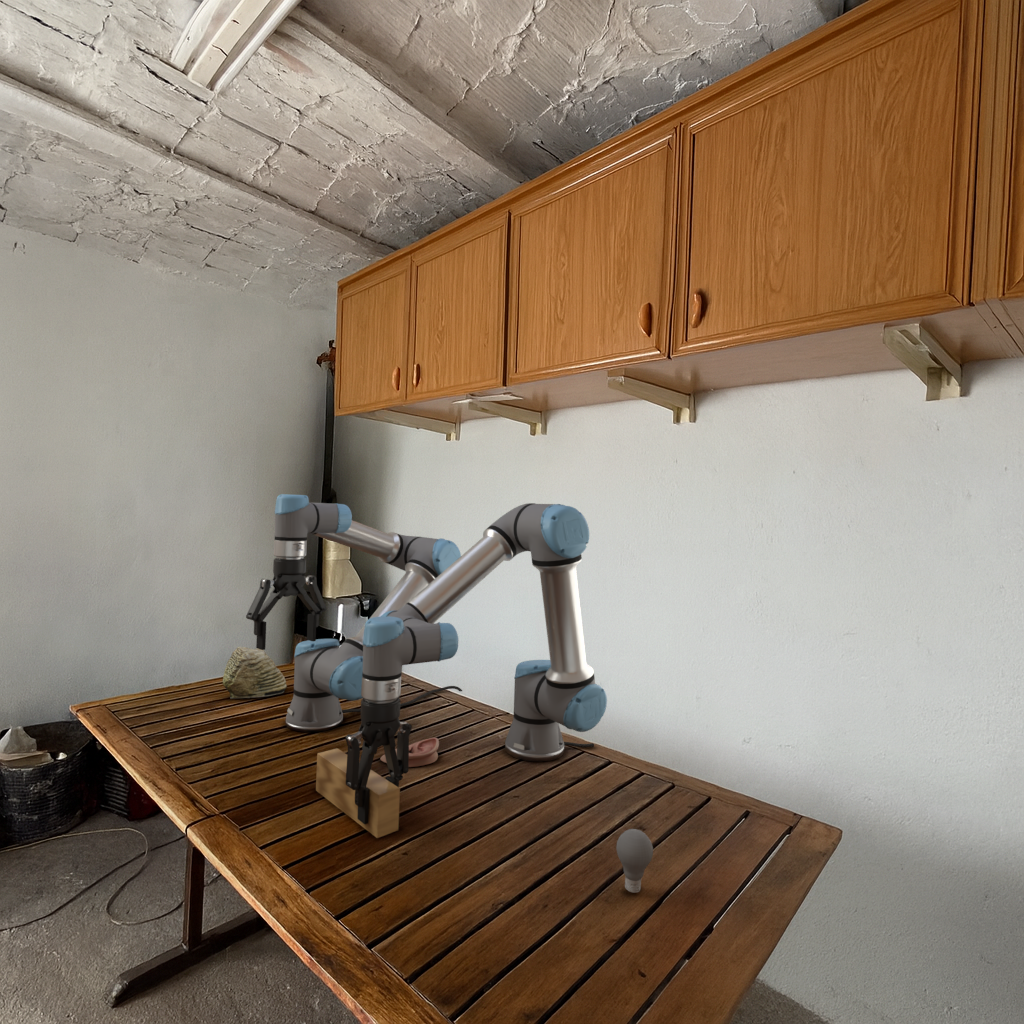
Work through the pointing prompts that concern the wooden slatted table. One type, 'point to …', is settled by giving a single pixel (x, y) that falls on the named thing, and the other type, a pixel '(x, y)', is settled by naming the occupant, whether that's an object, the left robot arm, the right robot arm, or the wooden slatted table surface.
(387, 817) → the bar
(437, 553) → the left robot arm
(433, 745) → the anatomical model
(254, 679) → the fossil
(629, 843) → the light bulb
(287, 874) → the wooden slatted table surface
